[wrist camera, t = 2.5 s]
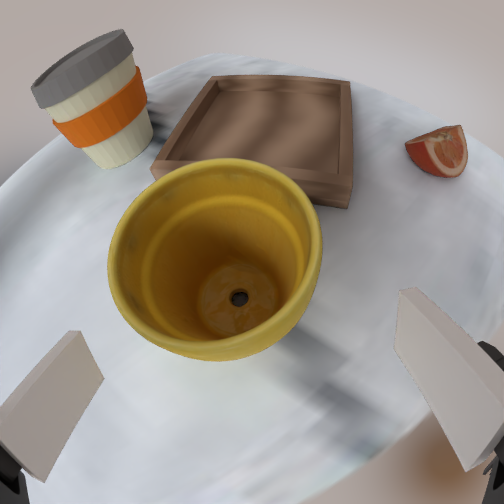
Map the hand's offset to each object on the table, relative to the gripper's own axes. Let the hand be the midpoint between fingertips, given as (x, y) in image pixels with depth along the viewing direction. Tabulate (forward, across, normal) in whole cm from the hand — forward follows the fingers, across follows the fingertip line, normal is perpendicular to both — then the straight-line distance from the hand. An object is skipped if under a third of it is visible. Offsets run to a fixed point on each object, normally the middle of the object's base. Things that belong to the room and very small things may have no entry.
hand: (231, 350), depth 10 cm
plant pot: (+10, -1, -3) cm, 11 cm away
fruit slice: (+18, +21, +5) cm, 29 cm away
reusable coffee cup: (+27, -15, +13) cm, 33 cm away
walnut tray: (+23, +4, +10) cm, 26 cm away
